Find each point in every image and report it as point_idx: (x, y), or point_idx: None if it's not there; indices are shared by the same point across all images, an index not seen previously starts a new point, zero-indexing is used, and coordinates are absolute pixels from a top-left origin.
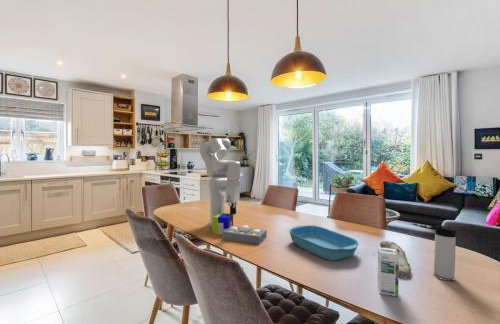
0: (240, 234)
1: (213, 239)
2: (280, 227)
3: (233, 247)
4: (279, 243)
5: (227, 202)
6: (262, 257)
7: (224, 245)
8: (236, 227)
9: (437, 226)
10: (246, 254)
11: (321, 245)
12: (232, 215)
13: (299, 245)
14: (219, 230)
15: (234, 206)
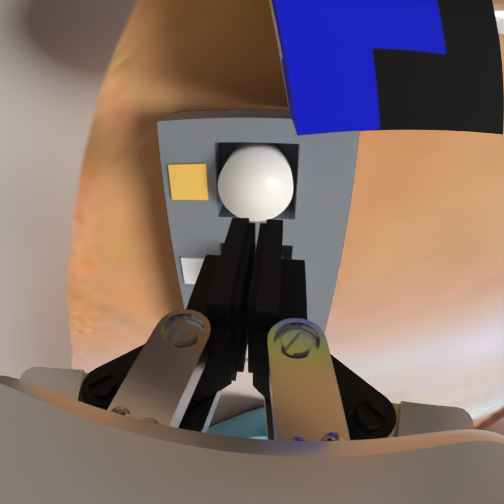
0: (176, 266)
1: (139, 60)
2: (457, 343)
3: (99, 237)
4: (246, 377)
5: (36, 393)
6: (102, 346)
7: (92, 183)
8: (273, 208)
9: None
10: (83, 303)
11: (266, 439)
12: (474, 128)
13: (232, 418)
14: (274, 26)
15: (215, 393)
